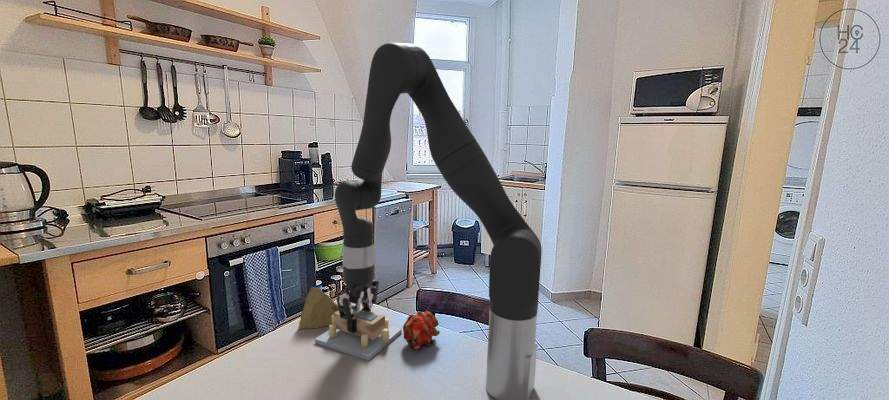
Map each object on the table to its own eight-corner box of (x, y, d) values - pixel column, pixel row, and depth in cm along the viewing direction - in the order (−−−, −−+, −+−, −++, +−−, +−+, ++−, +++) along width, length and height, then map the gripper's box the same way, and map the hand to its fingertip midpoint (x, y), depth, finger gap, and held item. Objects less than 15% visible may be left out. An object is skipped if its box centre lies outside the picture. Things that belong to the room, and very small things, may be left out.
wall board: (403, 333, 99) (403, 318, 98) (371, 361, 86) (371, 344, 85) (350, 318, 106) (350, 304, 105) (313, 342, 93) (312, 327, 93)
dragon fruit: (432, 336, 100) (415, 368, 89) (407, 316, 101) (387, 345, 90) (450, 317, 97) (434, 348, 86) (424, 296, 97) (405, 324, 86)
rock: (352, 308, 107) (320, 298, 109) (345, 293, 101) (312, 283, 103) (333, 345, 100) (300, 334, 102) (324, 331, 94) (289, 319, 96)
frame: (385, 330, 95) (385, 314, 95) (372, 340, 91) (372, 323, 90) (347, 319, 100) (346, 304, 100) (333, 328, 96) (333, 312, 95)
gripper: (364, 251, 101) (364, 312, 103) (325, 268, 88) (327, 336, 91) (388, 256, 97) (388, 318, 100) (352, 274, 85) (353, 344, 87)
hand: (359, 326), depth 95 cm, fingers closed on frame, 5 cm apart
